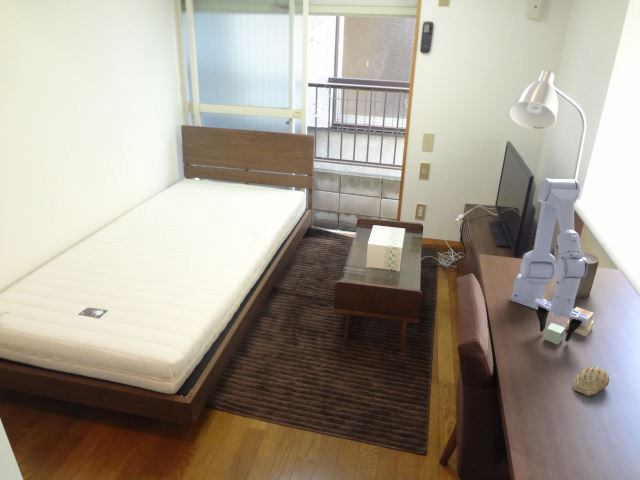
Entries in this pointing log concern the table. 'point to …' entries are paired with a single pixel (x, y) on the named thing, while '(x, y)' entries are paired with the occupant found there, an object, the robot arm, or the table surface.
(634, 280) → the table surface
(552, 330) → the sage cube
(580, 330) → the base slab
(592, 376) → the seashell
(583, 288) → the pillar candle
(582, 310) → the beige square block
